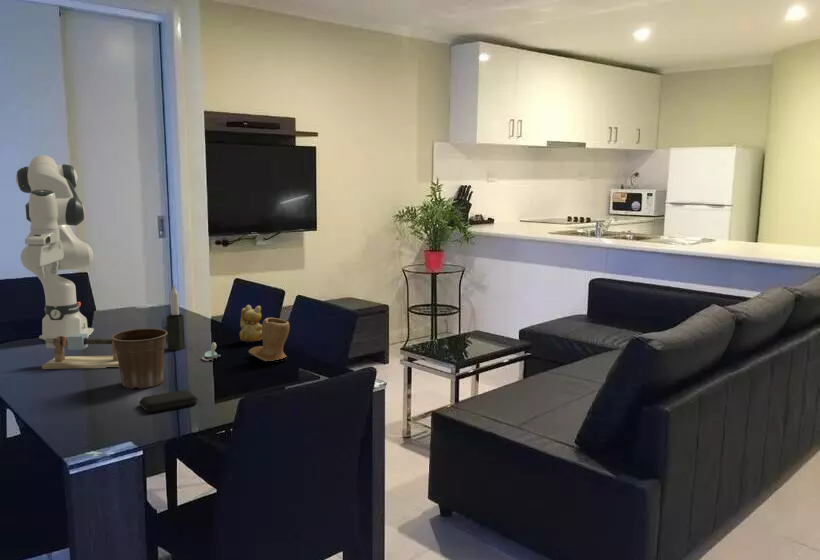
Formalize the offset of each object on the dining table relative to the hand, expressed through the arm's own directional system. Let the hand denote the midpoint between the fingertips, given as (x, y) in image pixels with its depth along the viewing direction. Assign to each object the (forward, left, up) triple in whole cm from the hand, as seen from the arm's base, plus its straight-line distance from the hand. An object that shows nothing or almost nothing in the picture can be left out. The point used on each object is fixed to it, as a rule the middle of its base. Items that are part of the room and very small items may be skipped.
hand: (48, 275), depth 232 cm
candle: (-13, +40, -31) cm, 52 cm away
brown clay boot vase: (+4, +78, -31) cm, 83 cm away
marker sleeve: (+7, +11, -25) cm, 28 cm away
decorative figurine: (-21, +67, -31) cm, 76 cm away
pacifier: (+3, +56, -31) cm, 64 cm away
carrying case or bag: (+53, +54, -31) cm, 82 cm away
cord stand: (+7, +15, -30) cm, 34 cm away
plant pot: (+32, +41, -31) cm, 60 cm away
